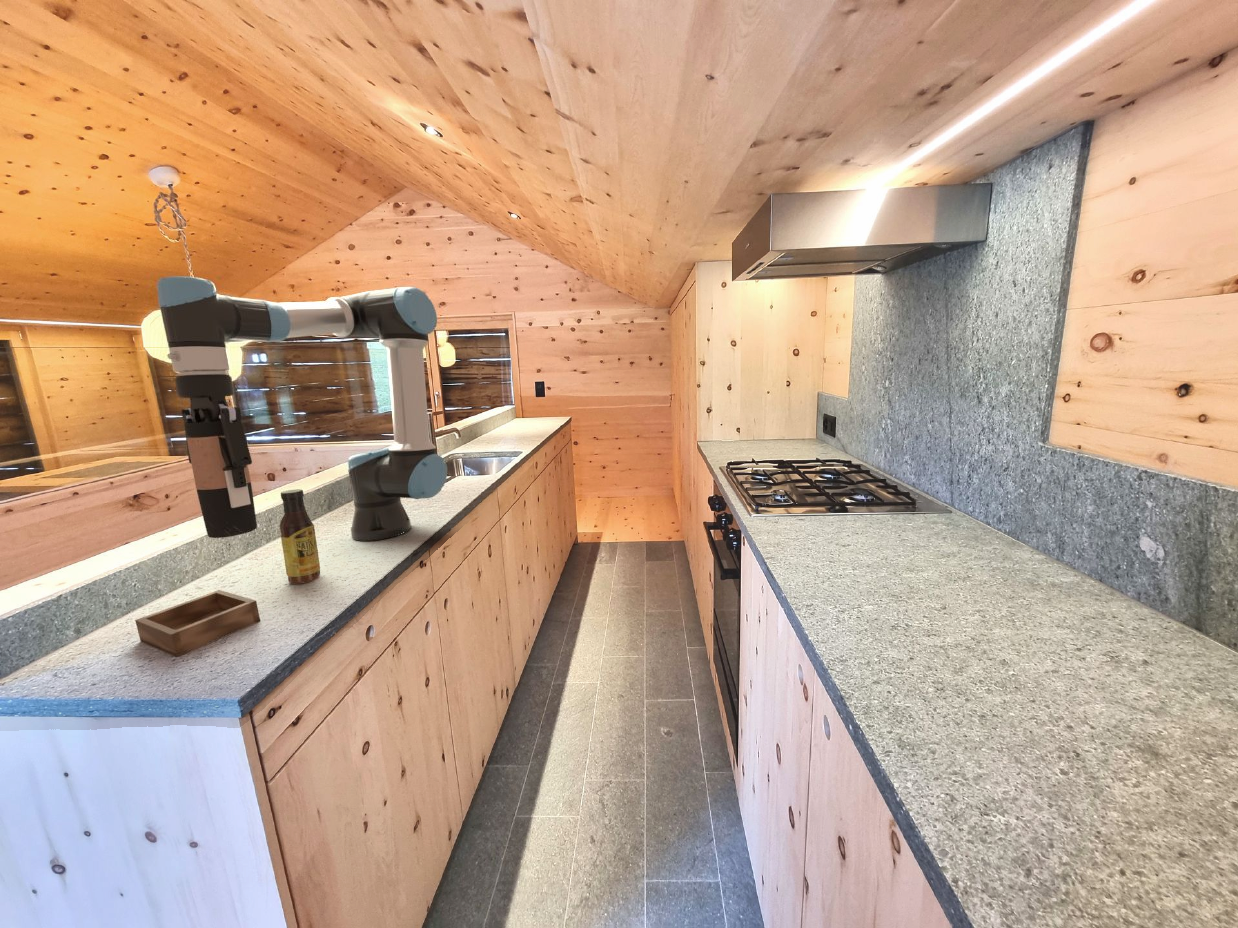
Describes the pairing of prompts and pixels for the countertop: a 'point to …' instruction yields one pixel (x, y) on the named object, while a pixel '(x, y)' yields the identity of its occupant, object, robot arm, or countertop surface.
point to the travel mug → (216, 483)
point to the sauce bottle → (298, 539)
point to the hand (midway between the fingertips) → (227, 503)
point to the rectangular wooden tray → (197, 622)
